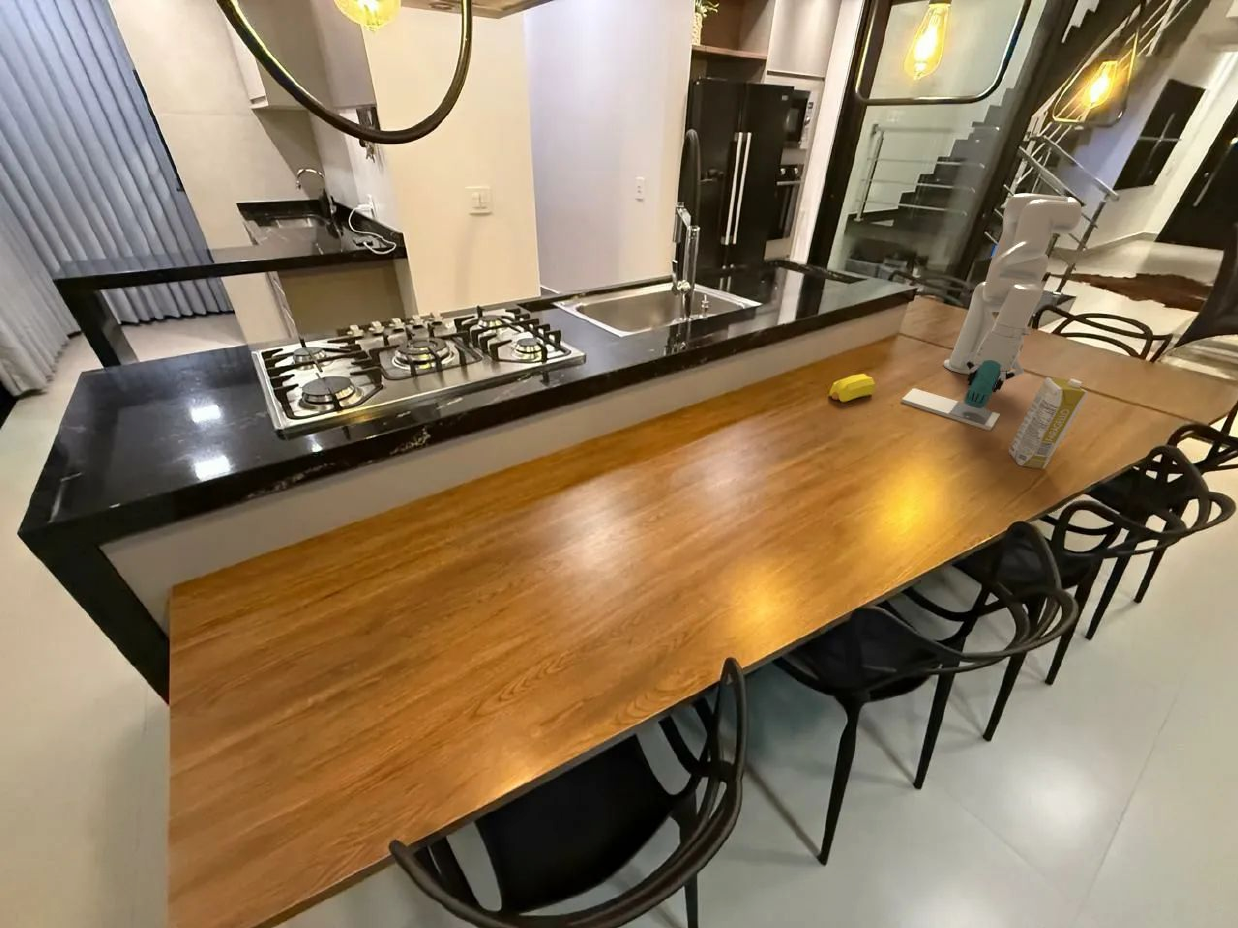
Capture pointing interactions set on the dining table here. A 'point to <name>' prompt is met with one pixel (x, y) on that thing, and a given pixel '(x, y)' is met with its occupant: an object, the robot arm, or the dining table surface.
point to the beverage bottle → (983, 384)
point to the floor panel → (951, 409)
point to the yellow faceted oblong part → (852, 387)
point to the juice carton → (1047, 421)
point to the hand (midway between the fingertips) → (982, 387)
